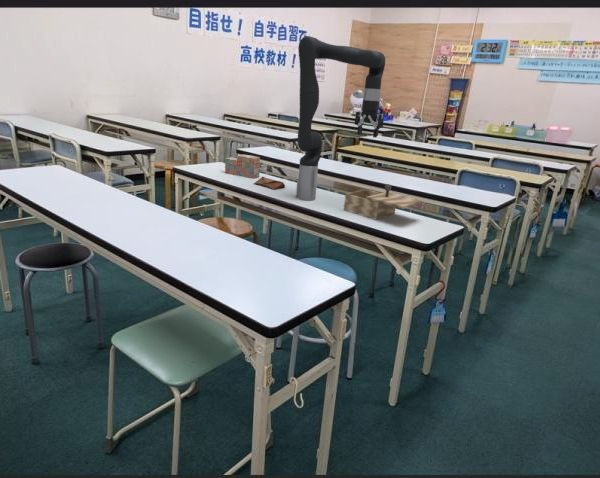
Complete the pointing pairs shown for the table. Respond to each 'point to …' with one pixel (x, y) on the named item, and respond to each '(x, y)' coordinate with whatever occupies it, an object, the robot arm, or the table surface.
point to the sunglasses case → (270, 183)
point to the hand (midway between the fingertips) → (367, 136)
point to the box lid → (394, 199)
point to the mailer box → (366, 205)
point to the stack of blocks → (243, 166)
